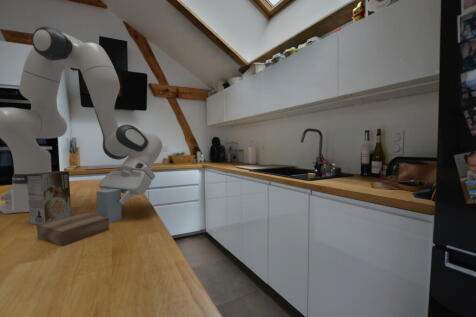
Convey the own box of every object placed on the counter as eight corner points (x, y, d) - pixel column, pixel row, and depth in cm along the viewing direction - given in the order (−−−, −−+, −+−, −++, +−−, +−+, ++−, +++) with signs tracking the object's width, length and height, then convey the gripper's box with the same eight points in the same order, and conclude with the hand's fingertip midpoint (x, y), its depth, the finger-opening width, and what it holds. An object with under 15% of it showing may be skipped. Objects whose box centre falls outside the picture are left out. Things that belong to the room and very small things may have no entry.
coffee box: (57, 215, 81) (55, 170, 80) (72, 216, 80) (70, 171, 79) (28, 224, 72) (26, 173, 71) (45, 225, 71) (42, 174, 70)
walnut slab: (37, 239, 61) (36, 224, 61) (83, 225, 72) (83, 212, 72) (63, 247, 56) (62, 231, 56) (108, 231, 67) (108, 217, 67)
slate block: (97, 221, 75) (96, 191, 74) (111, 217, 79) (110, 188, 79) (107, 223, 72) (106, 192, 72) (121, 218, 77) (120, 189, 76)
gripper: (109, 163, 86) (83, 194, 78) (149, 165, 78) (125, 199, 69) (120, 174, 91) (97, 204, 82) (159, 176, 82) (137, 210, 74)
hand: (110, 202), depth 76 cm, fingers open, 8 cm apart
